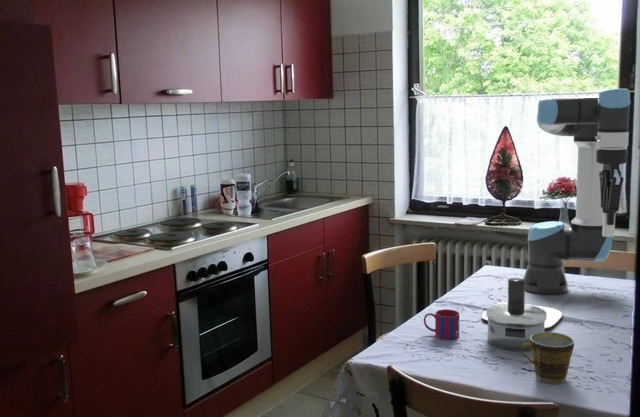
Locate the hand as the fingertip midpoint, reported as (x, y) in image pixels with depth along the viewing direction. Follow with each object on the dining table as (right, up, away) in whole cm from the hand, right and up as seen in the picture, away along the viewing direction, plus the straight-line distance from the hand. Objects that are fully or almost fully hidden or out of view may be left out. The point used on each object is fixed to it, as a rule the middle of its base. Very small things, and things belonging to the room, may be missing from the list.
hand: (608, 236), depth 179 cm
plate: (-16, -27, +25) cm, 40 cm away
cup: (-43, -29, +13) cm, 53 cm away
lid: (-23, -22, +5) cm, 33 cm away
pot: (-23, -29, +6) cm, 38 cm away
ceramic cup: (-23, -34, -19) cm, 45 cm away
